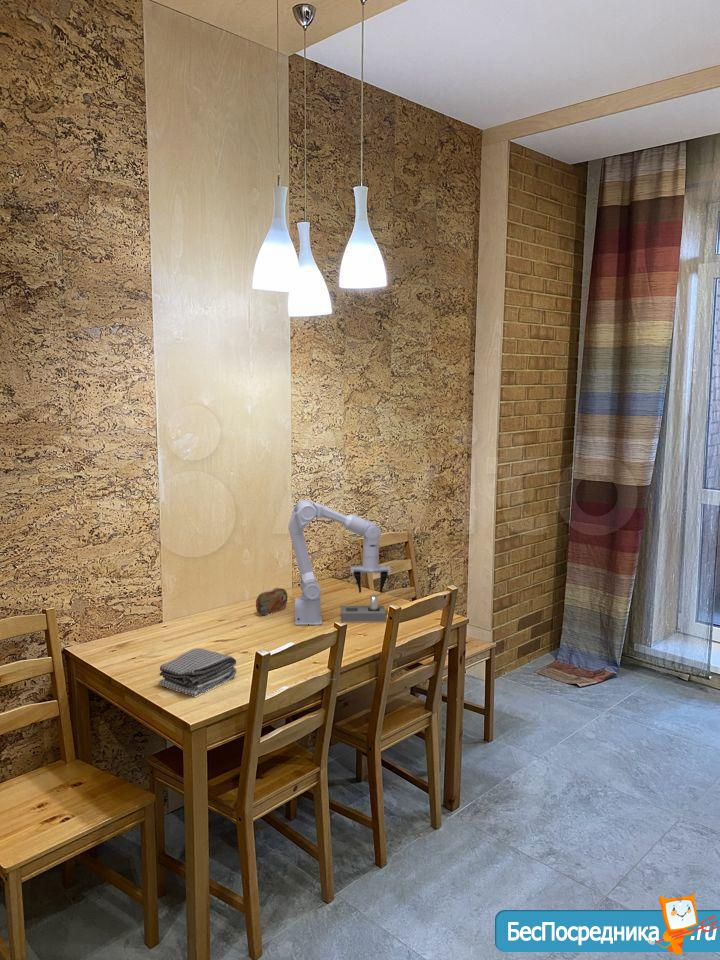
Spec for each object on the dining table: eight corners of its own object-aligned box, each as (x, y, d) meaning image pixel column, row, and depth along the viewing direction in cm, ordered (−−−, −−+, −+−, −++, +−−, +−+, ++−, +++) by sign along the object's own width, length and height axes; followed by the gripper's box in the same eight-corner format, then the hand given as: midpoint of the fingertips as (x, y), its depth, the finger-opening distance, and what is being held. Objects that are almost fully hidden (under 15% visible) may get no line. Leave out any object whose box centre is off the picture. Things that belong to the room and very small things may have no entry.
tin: (260, 617, 278) (260, 595, 276) (254, 616, 279) (254, 594, 278) (288, 607, 289) (288, 586, 288) (282, 606, 291) (282, 585, 290)
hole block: (341, 622, 272) (341, 613, 272) (340, 614, 281) (340, 605, 280) (385, 622, 273) (385, 613, 272) (383, 614, 281) (383, 605, 281)
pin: (369, 618, 275) (369, 597, 274) (369, 616, 278) (369, 595, 277) (377, 618, 275) (378, 597, 274) (377, 616, 278) (378, 595, 277)
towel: (238, 677, 224) (238, 652, 223) (193, 700, 208) (193, 672, 207) (201, 666, 232) (200, 642, 231) (155, 687, 217) (154, 661, 215)
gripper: (351, 558, 270) (350, 595, 272) (391, 558, 271) (391, 595, 273) (350, 553, 277) (350, 589, 279) (390, 553, 278) (389, 589, 280)
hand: (370, 591), depth 276 cm, fingers open, 7 cm apart
